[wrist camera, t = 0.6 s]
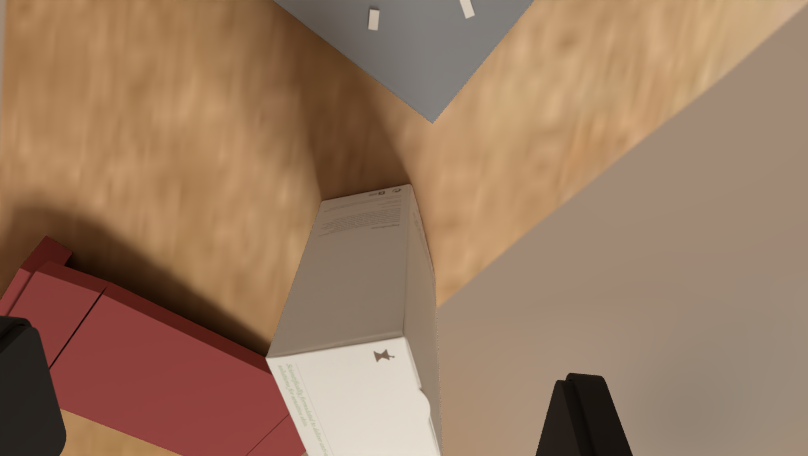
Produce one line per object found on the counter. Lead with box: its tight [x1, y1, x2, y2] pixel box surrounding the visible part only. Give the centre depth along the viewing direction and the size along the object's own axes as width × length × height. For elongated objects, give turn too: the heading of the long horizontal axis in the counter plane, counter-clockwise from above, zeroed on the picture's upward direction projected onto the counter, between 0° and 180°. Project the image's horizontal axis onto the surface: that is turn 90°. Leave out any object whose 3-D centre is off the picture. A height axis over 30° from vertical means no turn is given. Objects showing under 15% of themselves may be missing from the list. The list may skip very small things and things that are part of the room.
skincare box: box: [265, 184, 443, 456], centre depth 32 cm, size 8×7×16 cm
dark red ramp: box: [0, 236, 306, 456], centre depth 45 cm, size 12×5×25 cm
